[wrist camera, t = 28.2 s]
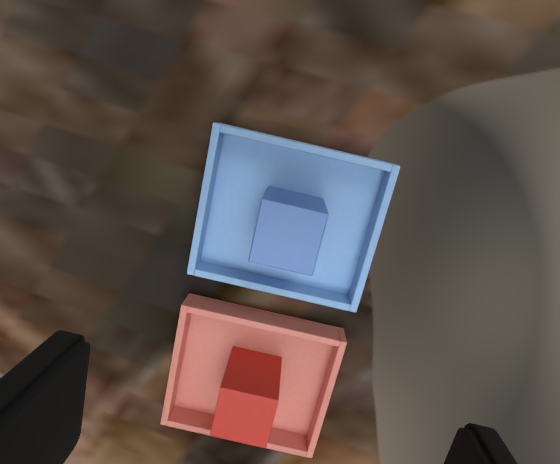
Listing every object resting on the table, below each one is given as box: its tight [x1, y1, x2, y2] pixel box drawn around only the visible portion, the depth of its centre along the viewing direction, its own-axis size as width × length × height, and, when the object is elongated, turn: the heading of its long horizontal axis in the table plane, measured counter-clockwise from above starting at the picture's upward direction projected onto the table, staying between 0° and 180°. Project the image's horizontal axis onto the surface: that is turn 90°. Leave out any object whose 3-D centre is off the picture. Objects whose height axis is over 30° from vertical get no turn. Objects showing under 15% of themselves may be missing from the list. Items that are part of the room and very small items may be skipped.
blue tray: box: [187, 122, 400, 313], centre depth 32 cm, size 14×12×2 cm
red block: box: [210, 346, 282, 448], centre depth 34 cm, size 5×5×6 cm
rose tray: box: [161, 293, 347, 458], centre depth 36 cm, size 14×12×2 cm
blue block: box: [248, 186, 329, 276], centre depth 30 cm, size 5×5×6 cm
